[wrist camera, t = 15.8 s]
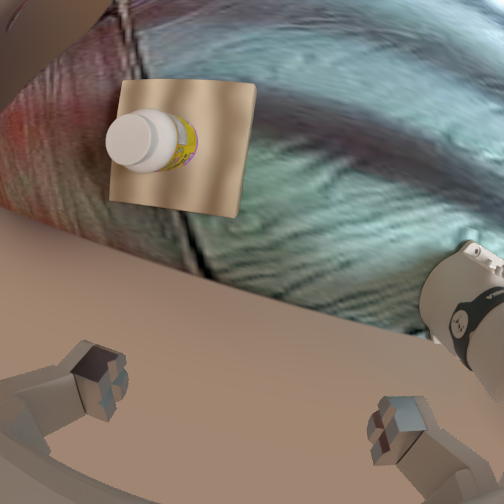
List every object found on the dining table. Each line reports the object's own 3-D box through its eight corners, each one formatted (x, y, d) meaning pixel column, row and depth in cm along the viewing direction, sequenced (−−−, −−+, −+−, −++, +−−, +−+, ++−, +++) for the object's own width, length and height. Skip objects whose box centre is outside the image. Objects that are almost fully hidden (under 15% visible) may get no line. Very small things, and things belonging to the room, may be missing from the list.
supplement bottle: (158, 175, 37) (104, 186, 25) (146, 127, 35) (90, 119, 23) (206, 161, 36) (168, 163, 23) (194, 111, 34) (152, 91, 22)
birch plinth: (257, 90, 36) (254, 84, 32) (238, 212, 41) (234, 218, 38) (135, 85, 37) (122, 80, 33) (122, 196, 42) (109, 200, 38)
